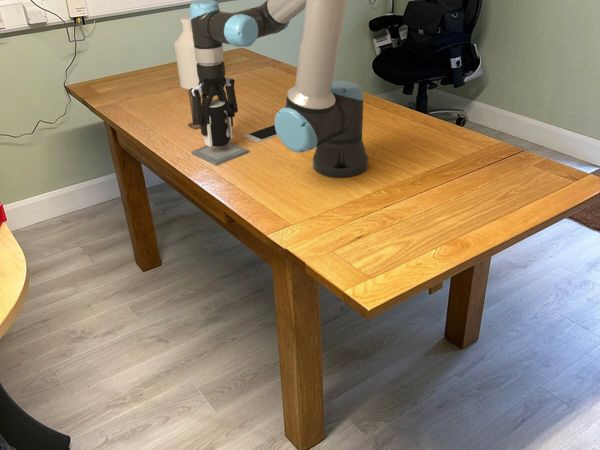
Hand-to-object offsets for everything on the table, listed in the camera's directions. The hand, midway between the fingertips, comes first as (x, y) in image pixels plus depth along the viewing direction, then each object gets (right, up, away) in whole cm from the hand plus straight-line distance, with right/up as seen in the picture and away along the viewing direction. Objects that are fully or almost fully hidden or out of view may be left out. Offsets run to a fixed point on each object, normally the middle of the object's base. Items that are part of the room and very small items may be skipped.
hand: (218, 141), depth 170 cm
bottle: (-18, +31, +60) cm, 70 cm away
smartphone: (+14, +4, +15) cm, 20 cm away
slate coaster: (0, -3, +2) cm, 4 cm away
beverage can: (0, -1, 0) cm, 1 cm away
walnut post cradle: (-5, +5, +17) cm, 18 cm away
